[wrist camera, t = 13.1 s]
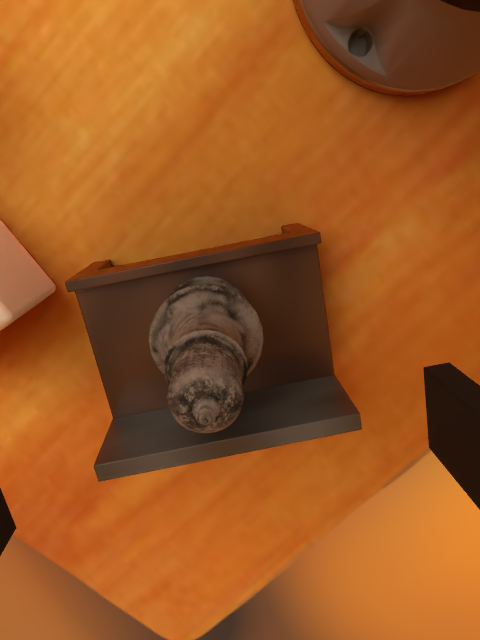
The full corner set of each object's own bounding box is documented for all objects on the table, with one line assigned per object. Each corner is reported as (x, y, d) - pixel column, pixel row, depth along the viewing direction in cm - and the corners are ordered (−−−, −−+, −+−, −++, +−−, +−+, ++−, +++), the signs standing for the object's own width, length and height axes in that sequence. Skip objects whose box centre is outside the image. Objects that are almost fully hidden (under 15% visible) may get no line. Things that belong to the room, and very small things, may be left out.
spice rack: (298, 222, 31) (339, 240, 21) (318, 359, 33) (362, 429, 24) (92, 262, 30) (38, 298, 21) (130, 396, 33) (98, 482, 24)
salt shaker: (170, 258, 26) (139, 319, 14) (269, 286, 26) (315, 365, 15) (145, 353, 27) (99, 477, 16) (240, 376, 28) (262, 511, 17)
